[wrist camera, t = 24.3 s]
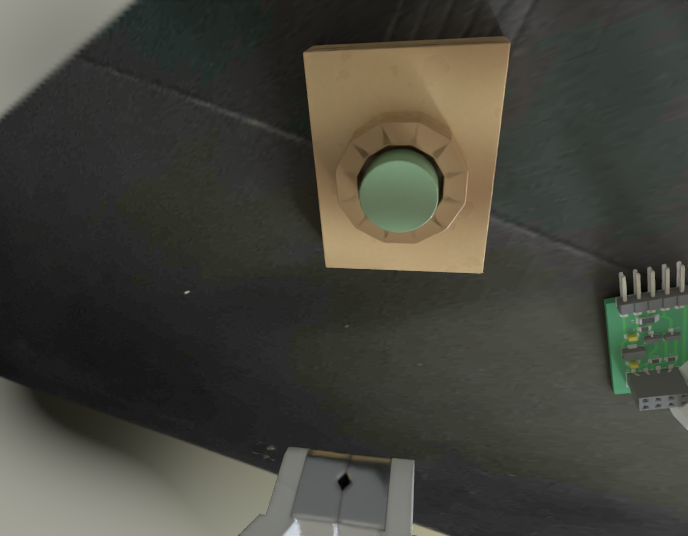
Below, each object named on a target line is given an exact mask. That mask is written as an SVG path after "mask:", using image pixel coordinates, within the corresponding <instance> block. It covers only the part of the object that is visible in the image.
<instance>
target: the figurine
mask: <svg viewBox="0 0 688 536" xmlns="http://www.w3.org/2000/svg"><path fill="white" fill-rule="evenodd" d="M678 370H679V371H680V373H681V375H682V377H683V378H684V380H685V382H686V384H687V385H688V361H687V362H686V363H685V364H683V365H682V366H681V367H680V368H678ZM670 410H671V412H672V414H673V415H674V416H675V417H676V418H677V419H678V421H679V422H680V423H681V424H682V425H683V426H684V427H685V428H686V429H687V430H688V403H686V405H685V406H684V407H674V408H670Z"/></svg>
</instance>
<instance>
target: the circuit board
mask: <svg viewBox="0 0 688 536" xmlns="http://www.w3.org/2000/svg"><path fill="white" fill-rule="evenodd" d="M647 277H648V292H643V293H641V284H640V274H639V273H637V270H636V269H635V270H633V283H634V294H631V295H627V290H626V277H625V275H624V276H623V272H620V273H619V284H620V296H619V297H614V298H608V299H604V306H605V317H606V327H607V338H608V348H609V359H610V369H611V380H612V389H613V392H614V394H623V393H632V395H633V397H634V400H635V402H636V404H637V406H638V409H639V411H643V410H653V409H664V408H674V407H684V406H685V405H686V403H688V385H687V384H686V382H685V380H684V378H683V377H682V375H681V373H680V371H679V370H678V368H680V367H681V366H682V365H683V364H685V363H686V362H687V361H688V285H685V266H684V265H681V261H678V262H677V284H676V285H677V286H676V287H672V288H670V269H669V268H668V267H667V268H666V264H663V265H662V289H660V290H655V272H654V270H652V267H648V268H647Z"/></svg>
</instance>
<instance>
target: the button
mask: <svg viewBox="0 0 688 536" xmlns="http://www.w3.org/2000/svg"><path fill="white" fill-rule="evenodd" d="M359 200H360V205H361V208H362V210H363V212H364V214H365V215H366V217H367V218H368V219H369V220H370V221H371V222H372V223H373V224H375V225H376V226H378V227H379V228H381V229H384V230H387V231H391V232H408V231H412V230H415V229H417V228H419V227H421V226H422V225H424V224H425V223H426V222H427V221H428V220H429V219H430V218H431V217H432V216H433V214H434V212H435V210H436V208H437V204H438V176H437V173H436V170H435V168H434V166H433V165H432V163H431V162H430V161H429V160H428V159H427V158H426V157H425V156H423V155H422V154H420V153H418V152H416V151H413V150H409V149H392V150H389V151H386V152H383V153H381V154H380V155H378V156H377V157H376V158H375V159H373V160H372V162H371V163H370V164H369V166H368V167H367V169H366V171H365V174H364V177H363V180H362V183H361V186H360V191H359Z"/></svg>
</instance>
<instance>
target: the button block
mask: <svg viewBox="0 0 688 536" xmlns="http://www.w3.org/2000/svg"><path fill="white" fill-rule="evenodd" d="M509 53H510V42H509V41H508V39H507V38H506V37H505V36H495V37H475V38H456V39H436V40H416V41H396V42H376V43H356V44H336V45H316V46H312V47H310V48H309V49H308V50H306V51H305V52H303V58H304V68H305V77H306V86H307V96H308V105H309V115H310V124H311V134H312V143H313V152H314V162H315V171H316V181H317V190H318V199H319V209H320V218H321V228H322V237H323V247H324V256H325V265H326V267H333V268H359V269H385V270H411V271H437V272H463V273H482V272H483V265H484V257H485V249H486V241H487V233H488V224H489V216H490V208H491V200H492V192H493V184H494V175H495V167H496V159H497V151H498V143H499V134H500V126H501V118H502V110H503V102H504V93H505V85H506V77H507V69H508V61H509ZM392 149H409V150H413V151H416V152H418V153H420V154H422V155H423V156H425V157H426V158H427V159H428V160H429V161H430V162H431V163H432V165H433V166H434V168H435V170H436V173H437V176H438V204H437V208H436V210H435V212H434V214H433V216H432V217H431V218H430V219H429V220H428V221H427V222H426V223H425V224H424V225H422V226H421V227H419V228H417V229H415V230H412V231H408V232H391V231H387V230H384V229H381V228H379V227H378V226H376V225H375V224H373V223H372V222H371V221H370V220H369V219H368V218H367V217H366V215H365V214H364V212H363V210H362V208H361V205H360V200H359V191H360V186H361V183H362V180H363V177H364V174H365V171H366V169H367V167H368V166H369V164H370V163H371V162H372V160H373V159H375V158H376V157H377V156H378V155H380V154H381V153H383V152H386V151H389V150H392Z"/></svg>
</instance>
